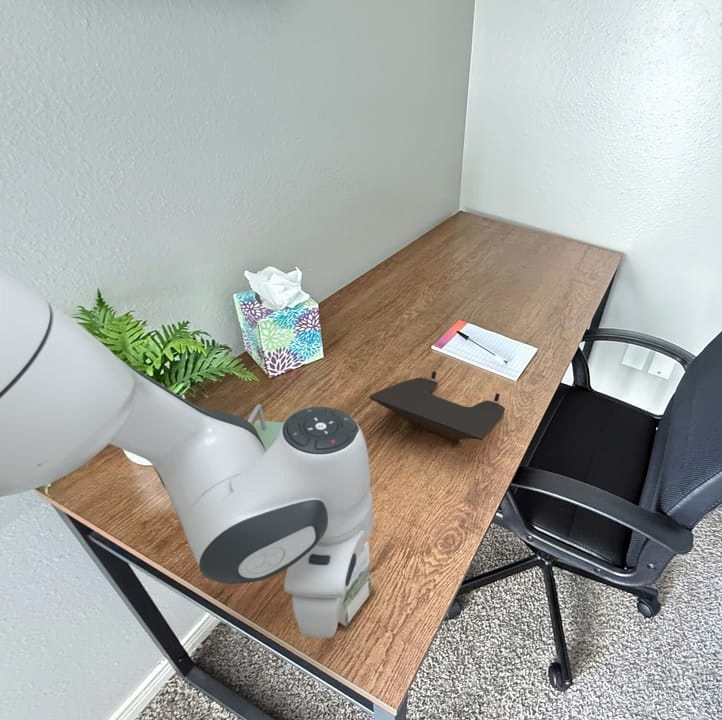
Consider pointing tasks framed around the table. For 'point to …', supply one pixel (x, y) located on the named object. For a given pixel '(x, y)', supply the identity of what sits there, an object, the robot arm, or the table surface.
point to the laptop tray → (439, 411)
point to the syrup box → (357, 587)
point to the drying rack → (265, 427)
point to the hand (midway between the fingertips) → (344, 574)
